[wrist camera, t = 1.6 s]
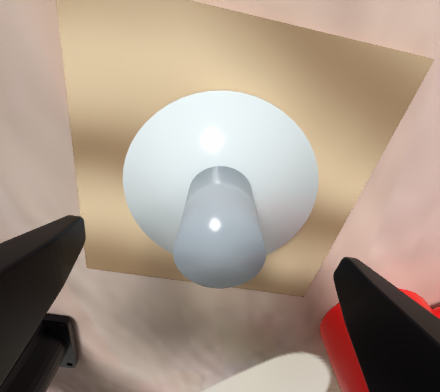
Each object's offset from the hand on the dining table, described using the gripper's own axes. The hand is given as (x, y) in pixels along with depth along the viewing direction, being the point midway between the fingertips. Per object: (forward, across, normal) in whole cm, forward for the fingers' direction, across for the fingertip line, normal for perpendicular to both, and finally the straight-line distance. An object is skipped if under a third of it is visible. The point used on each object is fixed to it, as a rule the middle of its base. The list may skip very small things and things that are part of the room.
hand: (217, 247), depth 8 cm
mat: (+5, 0, 0) cm, 5 cm away
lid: (+4, 0, 0) cm, 4 cm away
